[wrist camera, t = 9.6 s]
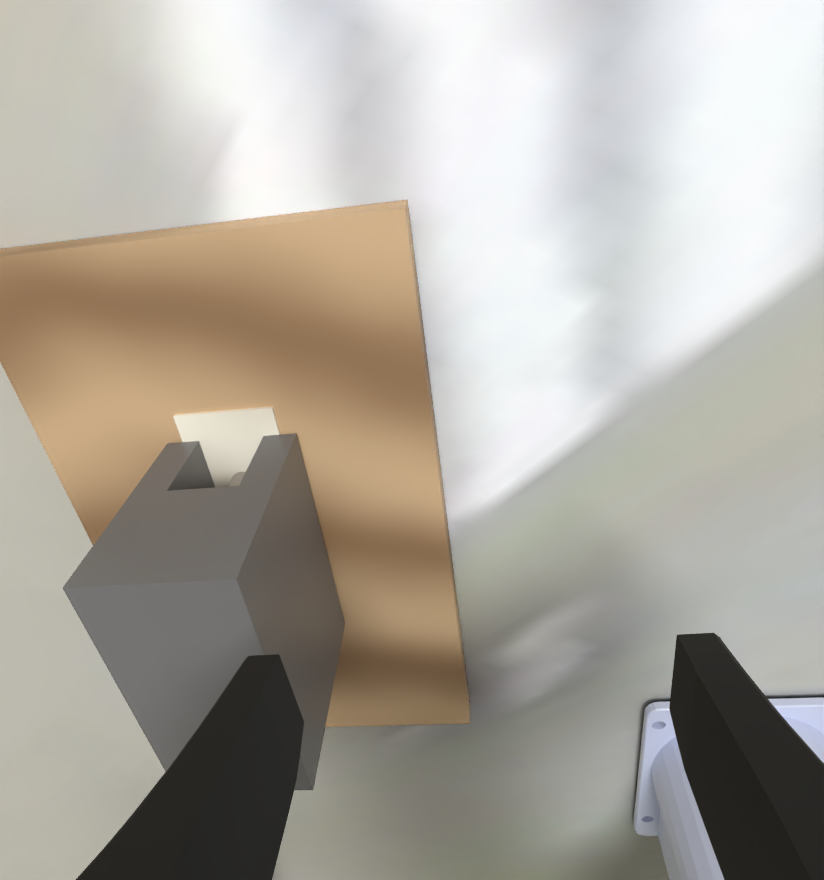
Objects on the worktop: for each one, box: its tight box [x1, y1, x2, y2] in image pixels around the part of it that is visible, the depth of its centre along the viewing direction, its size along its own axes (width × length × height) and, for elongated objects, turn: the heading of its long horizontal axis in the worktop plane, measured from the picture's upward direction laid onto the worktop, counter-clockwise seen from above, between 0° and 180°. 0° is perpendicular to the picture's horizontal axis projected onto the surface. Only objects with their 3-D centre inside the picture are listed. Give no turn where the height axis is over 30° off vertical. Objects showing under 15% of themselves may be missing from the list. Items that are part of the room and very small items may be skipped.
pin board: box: [0, 200, 470, 727], centre depth 21 cm, size 20×12×3 cm, turn 7°
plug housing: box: [63, 433, 345, 790], centre depth 18 cm, size 8×4×6 cm, turn 7°
